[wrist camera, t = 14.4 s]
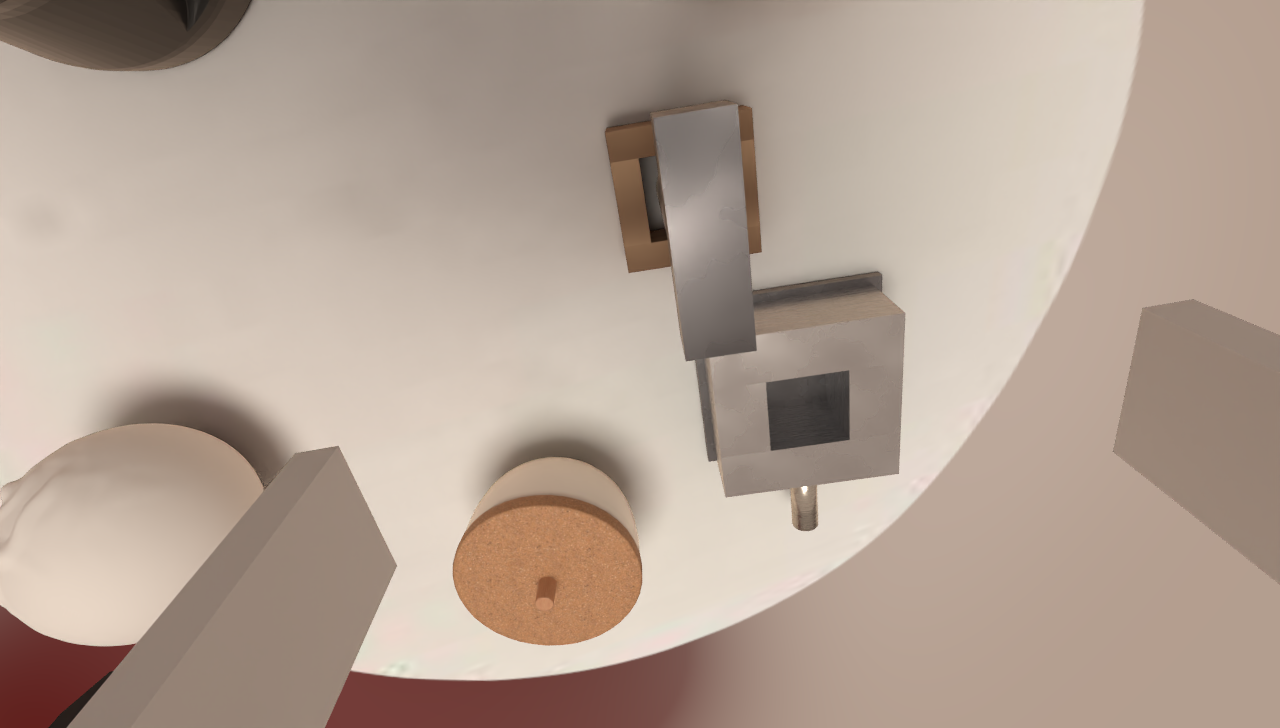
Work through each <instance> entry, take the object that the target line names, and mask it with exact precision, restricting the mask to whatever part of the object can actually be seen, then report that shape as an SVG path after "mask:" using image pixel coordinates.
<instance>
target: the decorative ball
mask: <svg viewBox="0 0 1280 728" xmlns="http://www.w3.org/2000/svg"><path fill="white" fill-rule="evenodd" d="M263 491H264V489H263V486H262V483H261V481H260V479H259V477H258V475H257V474H256V472H255V470H254V469H253V468H252V466H251V465H250V464H249V462H248V461H247V460H246V459H245V458H244V457H243V456H242V455H241V454H240V453H239V452H238V451H236V450H235V449H234V448H233V447H231V446H230V445H228V444H227V443H225V442H224V441H222V440H220V439H218V438H216V437H214V436H212V435H210V434H207V433H205V432H202V431H199V430H196V429H193V428H189V427H184V426H179V425H172V424H160V423H145V424H132V425H125V426H119V427H114V428H110V429H106V430H102V431H99V432H96V433H93V434H90V435H87V436H85V437H82V438H79V439H77V440H74V441H72V442H70V443H68V444H66V445H64V446H63V447H61V448H59V449H58V450H56V451H55V452H53V453H52V454H50V455H49V456H47V457H46V458H45V459H43V460H42V461H40V462H39V463H38V464H36V465H35V466H34V467H32V468H31V469H30V470H29V471H28V472H27V473H26V474H25V475H24V476H23V477H22V478H20V479H18V480H16V481H13V482H10V483H7V484H6V485H4V486H3V487H2V488H1V490H0V497H1V500H2V506H1V507H0V605H1V606H3V607H5V608H6V609H7V610H8V611H9V612H10V613H11V614H13V615H14V616H16V617H17V618H18V619H20V620H21V621H22V622H24V623H25V624H26V625H28V626H29V627H31V628H32V629H34V630H36V631H37V632H39V633H41V634H44V635H46V636H49V637H53V638H56V639H59V640H62V641H66V642H70V643H75V644H82V645H91V646H118V645H128V644H134V643H138V641H139V640H140V639H141V638H142V637H143V635H144V634H145V633H146V632H147V631H148V629H149V628H150V627H151V626H152V625H153V623H154V622H155V621H156V620H157V619H158V617H159V616H160V615H161V614H162V613H163V611H164V610H165V609H166V608H167V607H168V605H169V604H170V603H171V602H172V601H173V599H174V598H175V597H176V596H177V595H178V593H179V592H180V591H181V590H182V589H183V587H184V586H185V585H186V584H187V583H188V581H189V580H190V579H191V578H192V577H193V575H194V574H195V573H196V572H197V571H198V569H199V568H200V567H201V566H202V565H203V563H204V562H205V561H206V560H207V559H208V557H209V556H210V555H211V554H212V553H213V551H214V550H215V549H216V548H217V547H218V545H219V544H220V543H221V542H222V541H223V539H224V538H225V537H226V536H227V535H228V533H229V532H230V531H231V530H232V529H233V527H234V526H235V525H236V524H237V523H238V521H239V520H240V519H241V518H242V517H243V515H244V514H245V513H246V512H247V511H248V509H249V508H250V507H251V506H252V505H253V503H254V502H255V501H256V500H257V499H258V497H259V496H260V495H261V494H262V493H263Z"/></svg>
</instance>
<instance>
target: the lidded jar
mask: <svg viewBox="0 0 1280 728" xmlns="http://www.w3.org/2000/svg"><path fill="white" fill-rule="evenodd" d="M453 579H454V584H455V588H456V590H457V593H458V595H459V598H460V599H461V601H462V602H463V604H464V605H465V607H466V608H467V609H468V611H469V612H470V613H471V614H472V615H473V616H474V617H475V618H476V619H477V620H478V621H480V622H481V623H482V624H483V625H485V626H486V627H488V628H490V629H491V630H493V631H494V632H496V633H499V634H501V635H503V636H506V637H508V638H511V639H514V640H517V641H520V642H525V643H531V644H538V645H565V644H573V643H578V642H581V641H585V640H589V639H591V638H594V637H597V636H599V635H601V634H603V633H605V632H606V631H608V630H610V629H611V628H613V627H614V626H616V625H617V624H618V623H620V622H621V621H622V620H623V619H624V618H625V616H626V615H627V614H628V613H629V612H630V611H631V609H632V608H633V606H634V605H635V603H636V601H637V599H638V597H639V594H640V590H641V586H642V562H641V557H640V553H639V538H638V533H637V529H636V524H635V520H634V516H633V513H632V511H631V508H630V506H629V503H628V501H627V499H626V498H625V496H624V495H623V493H622V492H621V490H620V489H619V487H618V486H617V485H616V484H615V483H614V481H613V480H612V479H611V478H610V477H608V476H607V475H606V474H604V473H603V472H602V471H600V470H599V469H597V468H595V467H594V466H592V465H590V464H588V463H585V462H583V461H580V460H576V459H572V458H565V457H546V458H540V459H536V460H532V461H529V462H526V463H523V464H521V465H519V466H517V467H515V468H513V469H512V470H510V471H509V472H507V473H506V474H504V475H503V476H502V477H501V478H499V479H498V480H497V481H496V482H495V483H494V484H493V485H492V486H491V487H490V489H489V490H488V491H487V493H486V494H485V495H484V497H483V498H482V499H481V501H480V502H479V504H478V506H477V508H476V509H475V511H474V513H473V515H472V517H471V519H470V522H469V524H468V527H467V529H466V531H465V533H464V535H463V537H462V539H461V541H460V543H459V545H458V548H457V551H456V554H455V558H454V562H453Z"/></svg>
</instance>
